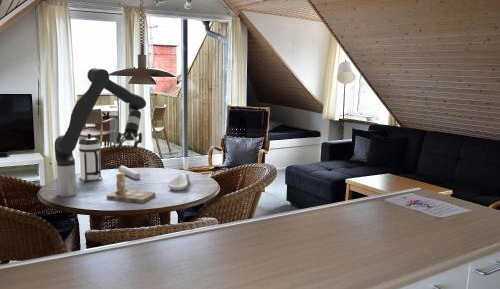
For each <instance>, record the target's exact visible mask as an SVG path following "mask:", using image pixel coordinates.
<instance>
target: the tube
mask: <svg viewBox="0 0 500 289" xmlns="http://www.w3.org/2000/svg"><path fill="white" fill-rule="evenodd" d="M118 172H119V173H125V176H127V177H130V178H132V179H134V180H140V178H141V173H140V172H137V171H135V170H134V169H131V168H129V167H127V166H125V165H124V164H123V165H120V166H119V167H118Z"/></svg>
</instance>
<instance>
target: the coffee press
mask: <svg viewBox="0 0 500 289" xmlns="http://www.w3.org/2000/svg"><path fill="white" fill-rule="evenodd" d="M78 145H79V147H78V150H79V164H80V165H79V166H80V167H79V168H80V171H79V172H80V176H79V178H78V179H79V180H80V181H81V180H83V182H84V184H88V182H89V181H93V180H99V181H100V182H102V181H104V180H103V178H102V175H101V174H102V172H101V171H102V170H101V168H102V167H101V140H100V139H99V138H98V137H93V136H92V134H91V133H88V134H87V137H82V138H79V140H78Z"/></svg>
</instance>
